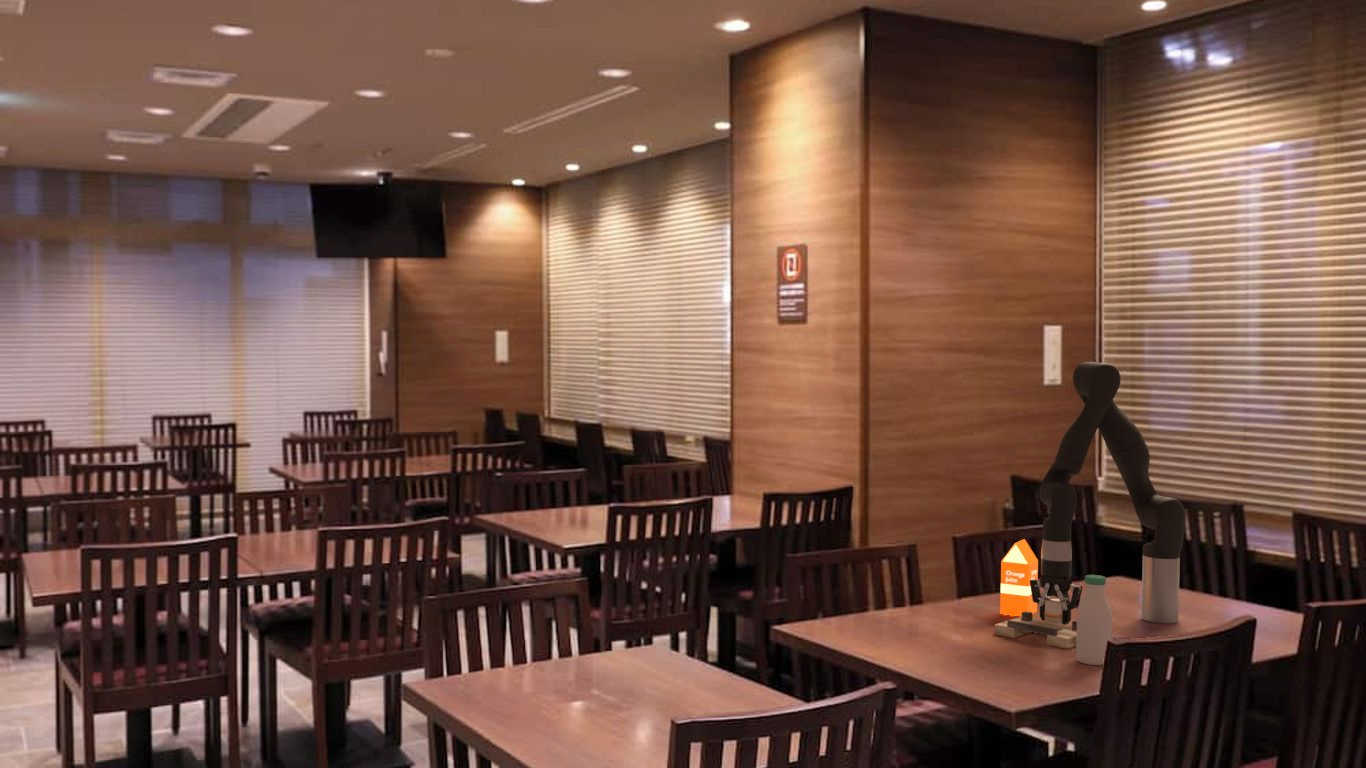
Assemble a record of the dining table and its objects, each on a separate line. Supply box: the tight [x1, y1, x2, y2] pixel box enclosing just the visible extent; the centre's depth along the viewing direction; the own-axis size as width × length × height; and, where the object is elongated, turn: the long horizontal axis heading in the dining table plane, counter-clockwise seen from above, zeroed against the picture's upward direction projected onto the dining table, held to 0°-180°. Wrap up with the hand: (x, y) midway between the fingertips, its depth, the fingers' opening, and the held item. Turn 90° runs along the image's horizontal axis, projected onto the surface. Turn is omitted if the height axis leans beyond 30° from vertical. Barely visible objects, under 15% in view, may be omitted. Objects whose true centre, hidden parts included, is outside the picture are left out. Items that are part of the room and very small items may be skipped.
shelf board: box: [994, 611, 1077, 649], centre depth 305 cm, size 13×20×4 cm, turn 45°
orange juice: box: [999, 538, 1039, 617], centre depth 331 cm, size 8×9×20 cm
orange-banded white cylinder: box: [1044, 598, 1065, 625], centre depth 315 cm, size 5×5×7 cm
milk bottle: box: [1075, 574, 1113, 666], centre depth 281 cm, size 8×8×20 cm
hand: (1054, 621), depth 315 cm, fingers closed on orange-banded white cylinder, 5 cm apart
